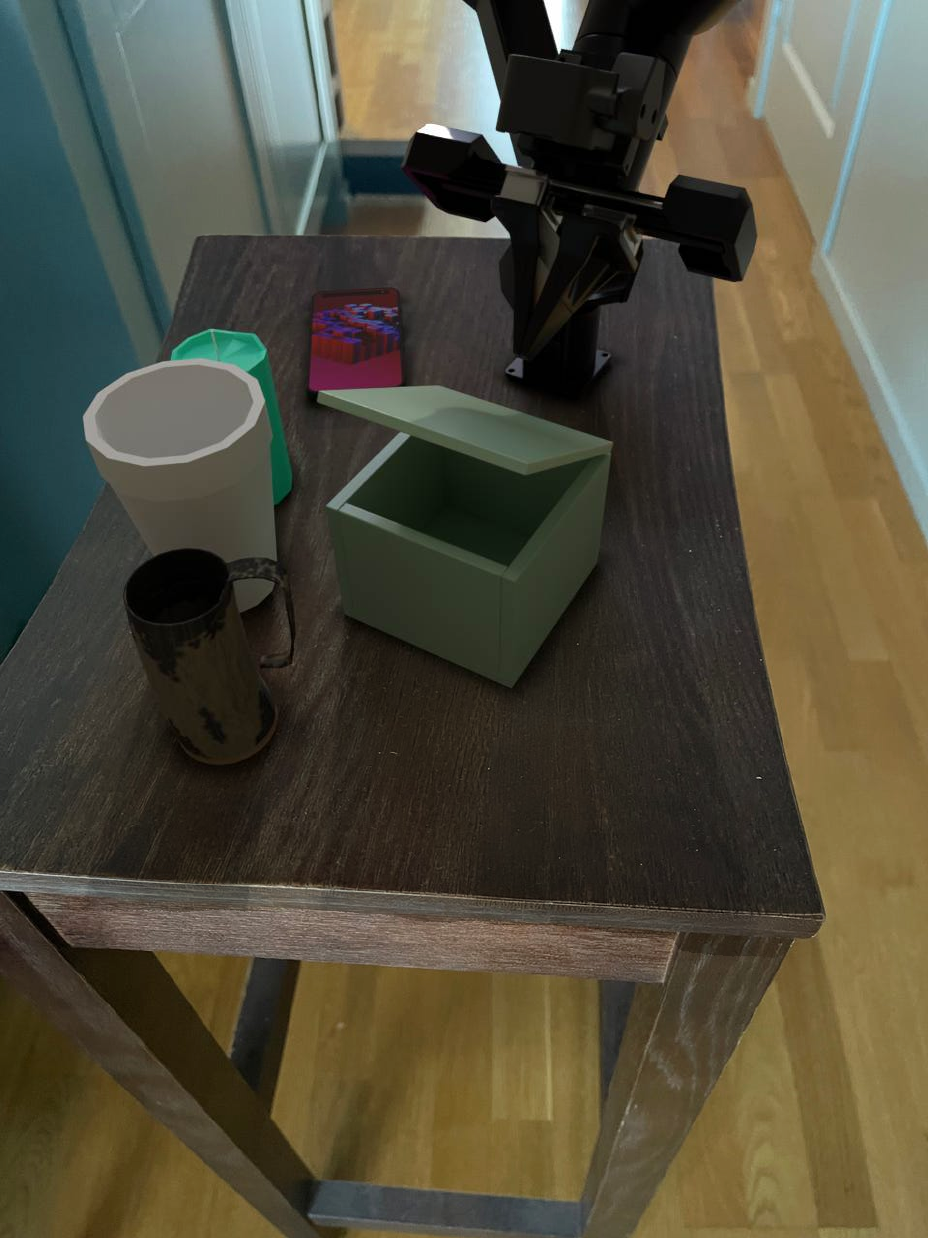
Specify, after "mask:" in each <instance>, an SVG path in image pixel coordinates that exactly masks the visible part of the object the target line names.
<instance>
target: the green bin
mask: <svg viewBox="0 0 928 1238" xmlns="http://www.w3.org/2000/svg"><path fill="white" fill-rule="evenodd" d="M611 458H612V451H611V452H609V453H606V454H602V455H598V456H595V457H591V458H587V459H584V460H580V461H576V462H573V463H569V464H565V465H562V466H558V467H555V468H551V469H547V470H544V471H540V472H536V473H533V474H529V475H522V474H519V473H516V472H513V471H510V470H508V469H505V468H502V467H499V466H496V465H493V464H491V463H488V462H485V461H482V460H479V459H476V458H474V457H471V456H468V455H465V454H462V453H459V452H457V451H454V450H451V449H448V448H445V447H442V446H440V445H437V444H434V443H431V442H428V441H425V440H422V439H420V438H417V437H414V436H411V435H408V434H405V433H403V432H400V431H399V432H398V433H397V434H396V435H395V436H394V437H393V438H392V439H391V440H390V441H389V442H388V443H387V444H386V445H385V446H384V447H383V448H382V449H381V450H380V451H379V452H378V453H377V454H376V455H374V457H373V458H372V459H371V460H370V461H369V462H368V463H367V464H366V465H365V466H364V467H363V468H362V469H361V470H360V471H359V472H358V473H357V474H356V475H355V476H354V477H353V478H352V479H351V480H350V481H349V482H348V483H347V484H346V485H345V486H344V487H343V488H342V489H341V490H340V491H339V492H338V493H337V494H336V495H335V496H334V497H333V498H332V499H331V500H330V501H329V502H328V503H327V504H326V505H325V511H326V517H327V523H328V529H329V534H330V539H331V545H332V551H333V556H334V563H335V569H336V573H337V574H336V575H337V580H338V584H339V585H338V586H339V591H340V596H341V603H342V609H343V614H344V615H345V616H347V617H349V618H352V619H353V620H356V621H358V622H361V623H363V624H365V625H368V626H370V627H372V628H375V629H377V630H379V631H381V632H384V633H386V634H388V635H390V636H392V637H394V638H396V639H399V640H401V641H404V642H406V643H408V644H411V645H412V646H415V647H417V648H418V649H421V650H423V651H426V652H428V653H431V654H432V655H435V656H437V657H439V658H441V659H444V660H447V661H448V662H451V663H453V664H454V665H457V666H459V667H461V668H464V669H467V670H469V671H471V672H473V673H475V674H478V675H479V676H482V677H484V678H487V679H489V680H491V681H493V682H495V683H498V684H501V685H502V686H505V687H507V688H509V689H513V688H514V686H515V685H516V683H517V682H518V681H519V679H520V677H521V676H522V674H523V673H524V671H525V670H526V668H527V667H528V666H529V664H530V663H531V661H532V660H533V658H534V656H535V655H536V654H537V652H538V651H539V649H540V648H541V646H542V644H543V643H544V642H545V641H546V639H547V638H548V636H549V634H550V633H551V631H552V630H553V628H554V627H555V626H556V624H557V622H558V621H559V620H560V618H561V617H562V615H563V614H564V612H565V611H566V609H568V607H569V605H570V603H571V602H572V601H573V599H574V598H575V596H576V595H577V593H578V592H579V590H580V589H581V587H582V586H583V584H584V583H585V582H586V580H587V578H588V577H589V576H590V575H591V573H592V572H593V569H594V568H595V567H596V565H597V564H598V561H599V552H600V547H601V537H602V529H603V523H604V522H603V521H604V515H605V514H604V513H605V506H606V499H607V498H606V497H607V492H608V491H607V490H608V483H609V482H608V481H609V475H610V474H609V473H610V466H611Z"/></svg>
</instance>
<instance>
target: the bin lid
mask: <svg viewBox="0 0 928 1238" xmlns="http://www.w3.org/2000/svg"><path fill="white" fill-rule="evenodd" d="M316 403H318V404H320V405H323V406H326V407H329V408H332V409H335V410H337V411H340V412H343V413H345V414H346V413H347V414H349V415H352V416H355V417H357V418H360V419H363V420H365V421H369V422H372V423H374V424H377V425H380V426H382V427H385V428H388V429H391V430H394V431H397V432H399V433H400V432H403V433H405V434H408V435H411V436H414V437H417V438H420V439H422V440H425V441H428V442H431V443H434V444H437V445H440V446H442V447H445V448H448V449H451V450H454V451H457V452H459V453H462V454H465V455H468V456H471V457H474V458H476V459H479V460H482V461H485V462H488V463H491V464H493V465H496V466H499V467H502V468H505V469H508V470H510V471H513V472H516V473H519V474H522V475H529V474H533V473H536V472H540V471H544V470H547V469H551V468H555V467H558V466H562V465H565V464H569V463H573V462H576V461H580V460H584V459H587V458H591V457H595V456H598V455H602V454H606V453H609V452H611V453H612V450H613V446H614V442H613V441H611V440H608V439H604V438H601V437H599V436H596V435H592V434H589V433H586V432H583V431H580V430H576V429H573V428H571V427H568V426H565V425H561V424H558V423H556V422H553V421H549V420H547V419H544V418H540V417H537V416H534V415H530V414H527V413H524V412H522V411H518V410H516V409H513V408H509V407H506V406H502V405H500V404H497V403H494V402H491V401H488V400H484V399H481V398H479V397H476V396H472V395H469V394H466V393H463V392H460V391H457V390H454V389H451V388H448V387H445V386H442V385H437V384H435V385H416V386H415V385H414V386H405V387H390V388H369V389H347V390H325V391H319V393H318V399H317V400H316Z"/></svg>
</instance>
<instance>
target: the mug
mask: <svg viewBox="0 0 928 1238" xmlns="http://www.w3.org/2000/svg"><path fill="white" fill-rule="evenodd" d="M242 579H265V580H269V581H272V582H274V583H275V584H274V585H277V586H278V588H279V589H281V590H282V595H283V600H284V604H285V609H286V610H285V611H286V614H287V621H288V625H289V631H290V633H289V634H290V647H289V650H287V651H285V652H283V653H274V654H273V653H272V654H261V656H260V662H259V668H258V665H257V663H256V660H255V657H254V654H253V652H252V649H251V647H250V644H249V642H248V637H247V635H246V631H245V628H244V624H243V620H242V617H241V613H239V610H238V606H237V603H236V596H235V590H234V584H233V582H234V581H237V580H242ZM122 595H123V596H122V599H123V603H124V608H125V612H126V617H127V620H128V625H129V629H130V633H131V636H132V639H133V642H134V645H135V647H136V650H137V653H138V656H139V658H140V661H141V664H142V668H143V670H144V673H145V675H146V678H147V681H148V683H149V685H150V688H151V690H152V692H153V694H154V696H155V698H156V700H157V702H158V705H159V707H160V709H161V712H162V713H163V716H164V718H165V719H166V720H167V723H168V724H169V726H170V728H171V729H172V731H173V732H174V734H175V736H176V737H177V740H178V742H179V744H180V746H181V749H183V751H184V752H185V753H186V754H187V755H188V756H189V757H191V758H193V759H194V760H195V761H198V762H201V763H203V764H206V765H207V764H208V765H214V766H224V765H225V766H226V765H231V764H236V763H239V762H241V761H245V760H246V759H249V758H250V757H252V756H254V755H255V754H257V753H258V752H260V751H261V750H262V749H263V748H264V747H265V746H266V745H267V744H268V743H269V742H270V740H271V738H272V737H273V736H274V733H275V731H276V729H277V726H278V721H279V715H278V713H279V712H278V707H277V705H276V702H275V700H274V698H273V695H272V693H271V692H270V689H269V687H268V686H267V684H266V682H265V680H264V679H263V676H262V675H261V673H260V670H259V669H283V668H286V667H288V666H290V665H292V664H293V660H294V653H295V642H296V635H297V631H296V620H295V618H296V617H295V609H294V603H293V597H292V591H291V585H290V579H289V574H288V571H287V569H286V568H285V566H283V565H282V564H281V563H280V562H279V561H278V560H277V561H274V560H271V559H268V558H256V557H253V558H243V559H239V560H236V561H233V562H229V563H226V562H225V561H224V560H223V559H222V558H221V557H220V556H218V555H216V554H214V553H212V552H210V551H206V550H202V549H193V548H184V549H176V550H171V551H168V552H164V553H161V554H158V555H156V556H155V557H153V556H152V557H151V558H149V559H147V560H145V561H144V562H143V563H141V564H139V566H138V567H136V568H135V569H134V571H133V572H132V573H131V574H130V576H128V578H127V581H126V583H125V584H124V587H123V594H122Z"/></svg>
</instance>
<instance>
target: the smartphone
mask: <svg viewBox="0 0 928 1238" xmlns="http://www.w3.org/2000/svg"><path fill="white" fill-rule="evenodd" d="M402 313H403V311H402V306H401V293H400V290H398V288H396V287H393V286H392V287H391V286H388V287H386V286H385V287H369V288H355V289H354V288H353V289H336V290H321V291H316V292H314V293H313V294H312V296H311V301H310V314H309V325H308V326H309V327H308V328H309V329H308V336H309V337H308V338H309V339H308V351H307V353H308V355H307V371H306V389H305V390H306V394H307V396H308V397H309V399H311V400H313V401H314V400H315V401H317V399H318V393H319V391H325V390H347V389H369V388H390V387H406V373H405V372H406V371H405V359H404V357H405V356H404V333H403V325H402Z"/></svg>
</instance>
